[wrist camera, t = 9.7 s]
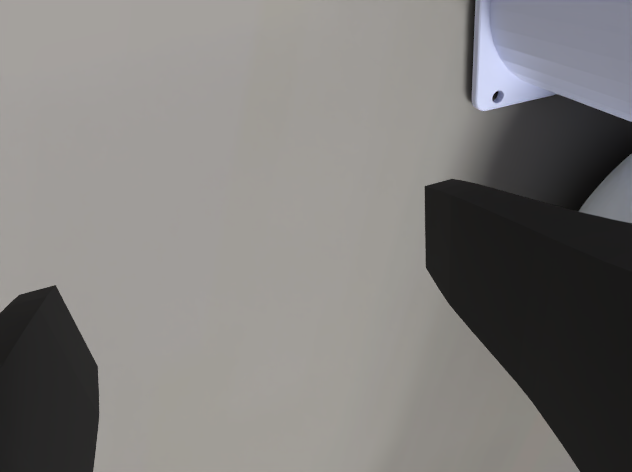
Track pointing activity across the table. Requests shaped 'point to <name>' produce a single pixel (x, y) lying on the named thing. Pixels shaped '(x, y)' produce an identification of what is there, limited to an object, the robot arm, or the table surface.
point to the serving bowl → (613, 195)
